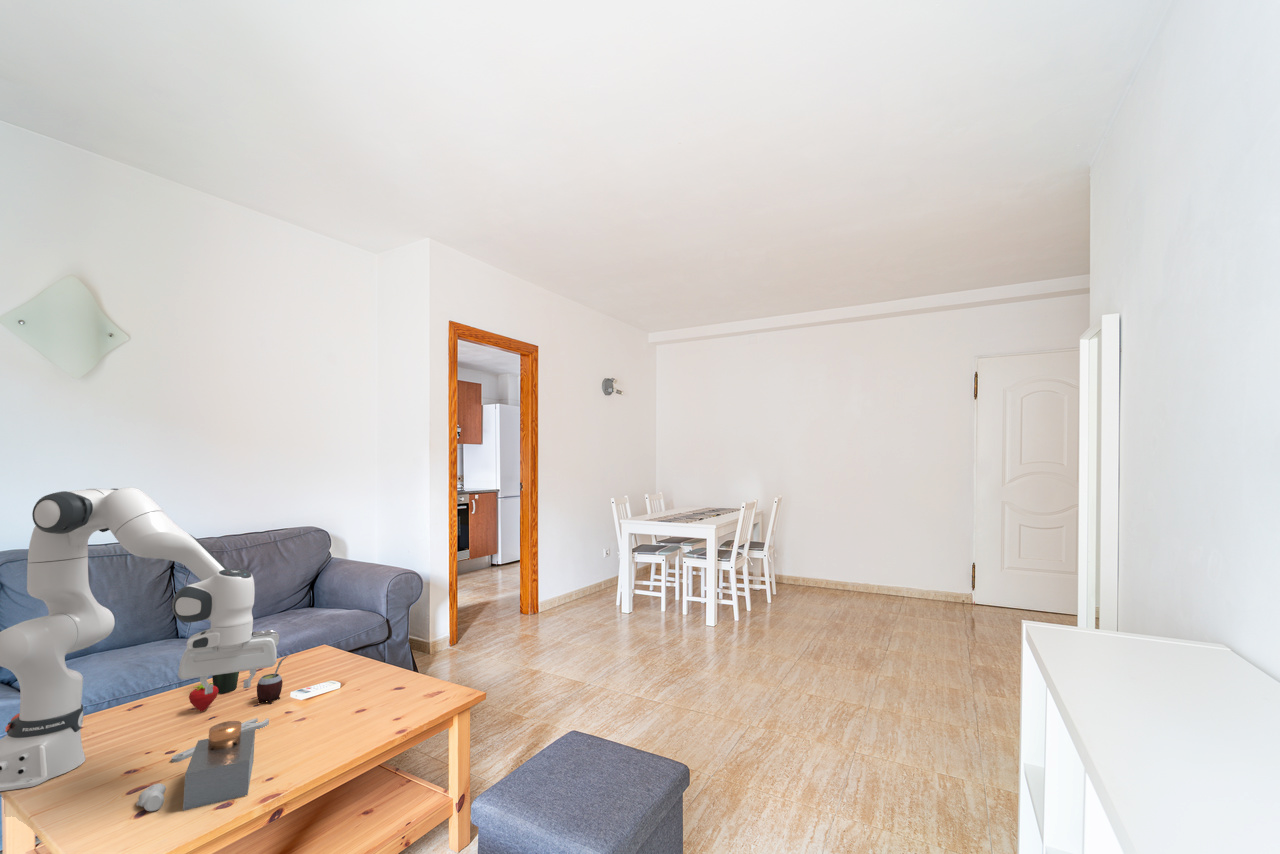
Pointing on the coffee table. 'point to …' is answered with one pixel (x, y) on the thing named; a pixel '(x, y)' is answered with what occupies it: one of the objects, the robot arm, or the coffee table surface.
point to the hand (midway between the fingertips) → (228, 690)
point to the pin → (224, 735)
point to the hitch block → (219, 772)
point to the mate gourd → (270, 686)
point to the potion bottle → (226, 682)
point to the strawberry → (202, 697)
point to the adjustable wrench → (244, 727)
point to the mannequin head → (152, 797)
